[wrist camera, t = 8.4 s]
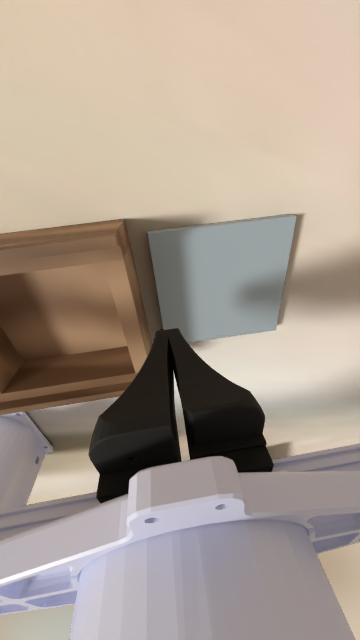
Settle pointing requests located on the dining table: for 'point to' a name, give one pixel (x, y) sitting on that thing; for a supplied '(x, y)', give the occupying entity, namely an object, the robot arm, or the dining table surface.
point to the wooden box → (69, 316)
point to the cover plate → (222, 275)
